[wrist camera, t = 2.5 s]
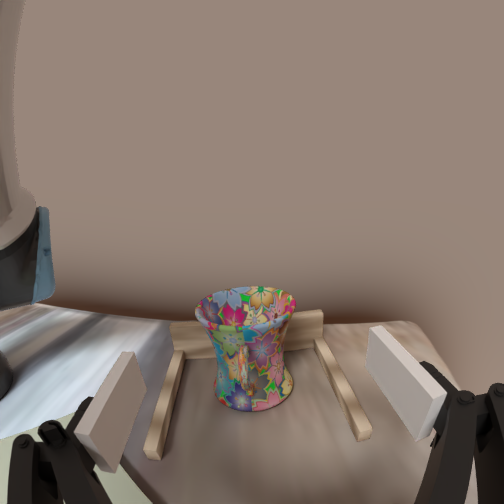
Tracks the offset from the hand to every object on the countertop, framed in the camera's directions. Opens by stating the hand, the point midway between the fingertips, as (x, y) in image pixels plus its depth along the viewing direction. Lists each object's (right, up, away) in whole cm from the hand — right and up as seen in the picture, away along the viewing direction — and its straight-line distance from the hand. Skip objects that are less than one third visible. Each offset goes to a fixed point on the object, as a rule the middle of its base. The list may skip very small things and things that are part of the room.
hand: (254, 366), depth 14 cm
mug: (0, -9, +13) cm, 16 cm away
